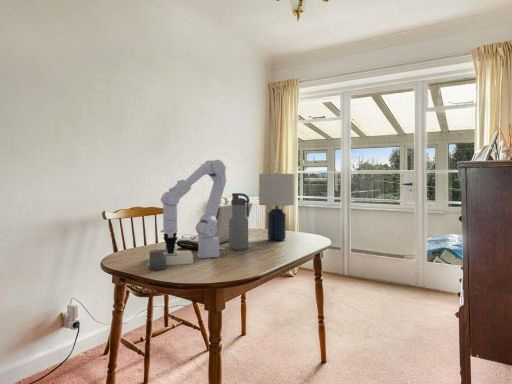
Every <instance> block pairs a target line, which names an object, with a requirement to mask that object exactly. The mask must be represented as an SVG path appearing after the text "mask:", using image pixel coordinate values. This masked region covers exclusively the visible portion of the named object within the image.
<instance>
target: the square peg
mask: <svg viewBox="0 0 512 384" xmlns="http://www.w3.org/2000/svg"><path fill="white" fill-rule="evenodd" d="M164 250H166V256H176V251H177V250H176V245H175V247H174V252H173V254H168V252H167V246H166V244H165V246H164Z"/></svg>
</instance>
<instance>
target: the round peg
mask: <svg viewBox="0 0 512 384" xmlns="http://www.w3.org/2000/svg"><path fill="white" fill-rule="evenodd" d="M148 255H149V266H148V267H149V269H148V270H149V271H151V272H161V271H165V270H167V265H166V250H165V249H153V250H152V249H151V250H149V251H148Z"/></svg>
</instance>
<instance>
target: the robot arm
mask: <svg viewBox="0 0 512 384" xmlns="http://www.w3.org/2000/svg"><path fill="white" fill-rule="evenodd" d="M226 170H227V167H226V165H225V163H224V161H223V160H221V159H215V160H214V159H213V160H206V161H205V162H203V163H202V164H201V165H200V166H199V167H198V168H197V169H196V170H195V171H194V172H193V173H191V175H189V176H188V178H186V179H181V180H177V181H176V184H175V185H173V187H170V188H169V189H168V190H169V191H165V192H164V193H163V194H162V195H161V197H160V201H161V203H162V204H163V205H162V206H163V207H162V208H163V210H162V211H163V213H162V214H163V215H162V216H163V221H162V222H163V223H162V227H163V228H162V229H161V230H160V233H163V240H164V242H165V245H166V246H167V252H168V254H173V252H174V247H175V246H176V242H177V240H178V236H177V235H178V204H179V202H180V199H181V198H183V197H184V196H185V195H186V194H187V193H188V192H190V191H191V189H192V186H193V184H195V183H196V182H198V181H199V180H200V179H201V178H203V177H204V176H205V175H207V176H209V177H210V179H211V180H212V182H213V184H212V187H211V189H210V195H209V197H208V200H207V204H206V207H205V210H204V214H203V215H202V216H201V217H200V218H199V221H198V223H196V225H195V230H196V233H197V234H198V236H197V237H198V238H197V239H198V241H197V242H198V253H196V256H197V258H198V259H207V258H209V259H210V258H220V237H219V235H217V236H216V234H217V232H218V220H217V214H218V210H219V207H220V204H221V200H222V196H223V194H224V190H225V187H226V183H227V176H226Z"/></svg>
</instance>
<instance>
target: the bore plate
mask: <svg viewBox="0 0 512 384" xmlns="http://www.w3.org/2000/svg"><path fill="white" fill-rule="evenodd" d="M187 264H188V265H189V264H190V265H191V264H194V255H193V252H192V250H176V256H166V266H173V265H174V266H175V265H187ZM147 267H149V254H148V256H147Z"/></svg>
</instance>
